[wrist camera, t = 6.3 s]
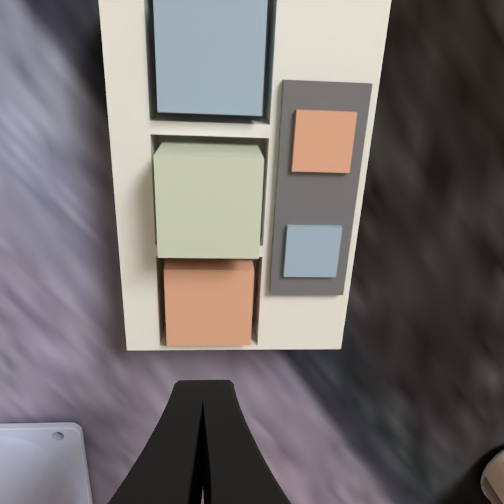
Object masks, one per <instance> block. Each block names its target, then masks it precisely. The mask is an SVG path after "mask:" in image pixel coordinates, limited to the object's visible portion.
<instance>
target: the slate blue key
mask: <svg viewBox="0 0 504 504" xmlns="http://www.w3.org/2000/svg"><path fill="white" fill-rule="evenodd" d="M267 5H268V0H153V8H154V34H155V59H156V85H157V111H158V112H169V113H197V114H224V115H252V116H262V106H263V86H264V65H265V45H266V25H267Z"/></svg>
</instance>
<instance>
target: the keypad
mask: <svg viewBox="0 0 504 504" xmlns="http://www.w3.org/2000/svg"><path fill="white" fill-rule="evenodd" d="M390 6H391V0H268V5H267V25H266V45H265V65H264V86H263V106H262V116H252V115H224V114H197V113H169V112H158V111H157V85H156V59H155V34H154V8H153V0H99V11H100V24H101V36H102V48H103V61H104V73H105V85H106V98H107V110H108V122H109V135H110V147H111V160H112V172H113V184H114V197H115V209H116V221H117V234H118V246H119V258H120V271H121V283H122V296H123V308H124V320H125V333H126V345H127V350H270V349H341V344H342V337H343V330H344V323H345V317H346V310H347V303H348V296H349V289H350V282H351V275H352V268H353V261H354V254H355V247H356V241H357V234H358V227H359V220H360V213H361V206H362V199H363V192H364V185H365V178H366V171H367V164H368V158H369V151H370V144H371V137H372V130H373V123H374V116H375V109H376V102H377V95H378V88H379V82H380V75H381V68H382V61H383V54H384V47H385V40H386V33H387V26H388V19H389V12H390ZM163 141H185V142H218V143H250V144H258V147H259V149H260V151H261V153H262V155H263V157H264V174H263V193H262V211H261V230H260V249H259V259H252V260H253V266H254V287H253V308H252V328H251V345H228V346H167V342H166V316H165V290H164V267H165V263H166V259H167V258H158V250H157V227H156V204H155V181H154V159H153V156H154V154H155V153H156V151H157V150H158V148H159V147H160V145H161V143H162V142H163Z"/></svg>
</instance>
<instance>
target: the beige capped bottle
mask: <svg viewBox="0 0 504 504" xmlns="http://www.w3.org/2000/svg"><path fill="white" fill-rule="evenodd" d="M481 488H482V491H483V493H484V495H485V496H486V497H487V498H488V499H489V500H490V501H491V503H492V504H504V449H503V450H501V451H500V452H499V453H497V454H496V455H495V456H494V457H493V459H492V460H491V461H490V462H488V464H487V466H486V467H485V469H484V471H483V473H482V477H481Z"/></svg>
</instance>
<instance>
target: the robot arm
mask: <svg viewBox="0 0 504 504" xmlns="http://www.w3.org/2000/svg"><path fill="white" fill-rule="evenodd" d="M57 432H61V433H62V434H58V433H57ZM202 490H203V492H204V504H291V503H290V501H289V500H288V499H287V497H286V495H285V494H284V492H283V491H282V489H281V487H280V486H279V484H278V483H277V481H276V479H275V478H274V476H273V474H272V472H271V471H270V469H269V467H268V465H267V464H266V462H265V460H264V458H263V456H262V454H261V452H260V451H259V449H258V447H257V444H256V442H255V440H254V438H253V436H252V434H251V432H250V430H249V428H248V426H247V423H246V421H245V419H244V416H243V414H242V411H241V409H240V406H239V403H238V400H237V397H236V393H235V390H234V384H233V383H232V382H231V381H230V380H185V381H178V382H177V383H176V384H174V388H173V391H172V393H171V396H170V399H169V401H168V403H167V406H166V408H165V410H164V412H163V414H162V416H161V418H160V420H159V422H158V424H157V426H156V428H155V430H154V431H153V433H152V435H151V437H150V439H149V440H148V442H147V444H146V446H145V448H144V449H143V451H142V453H141V454H140V456H139V457H138V459H137V461H136V462H135V464H134V465H133V467H132V469H131V470H130V472H129V473H128V475H127V476H126V478H125V480H124V481H123V483H122V484H121V485H120V487H119V488H118V490H117V491H116V493H115V494H114V496H113V497H112V498H111V500H110V501H109V503H108V504H201V499H202ZM0 504H93V503H92V495H91V488H90V481H89V474H88V467H87V460H86V452H85V445H84V438H83V431H82V428H81V427H80V426H79V425H78V424H76V423H72V422H61V423H10V424H0Z"/></svg>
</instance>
